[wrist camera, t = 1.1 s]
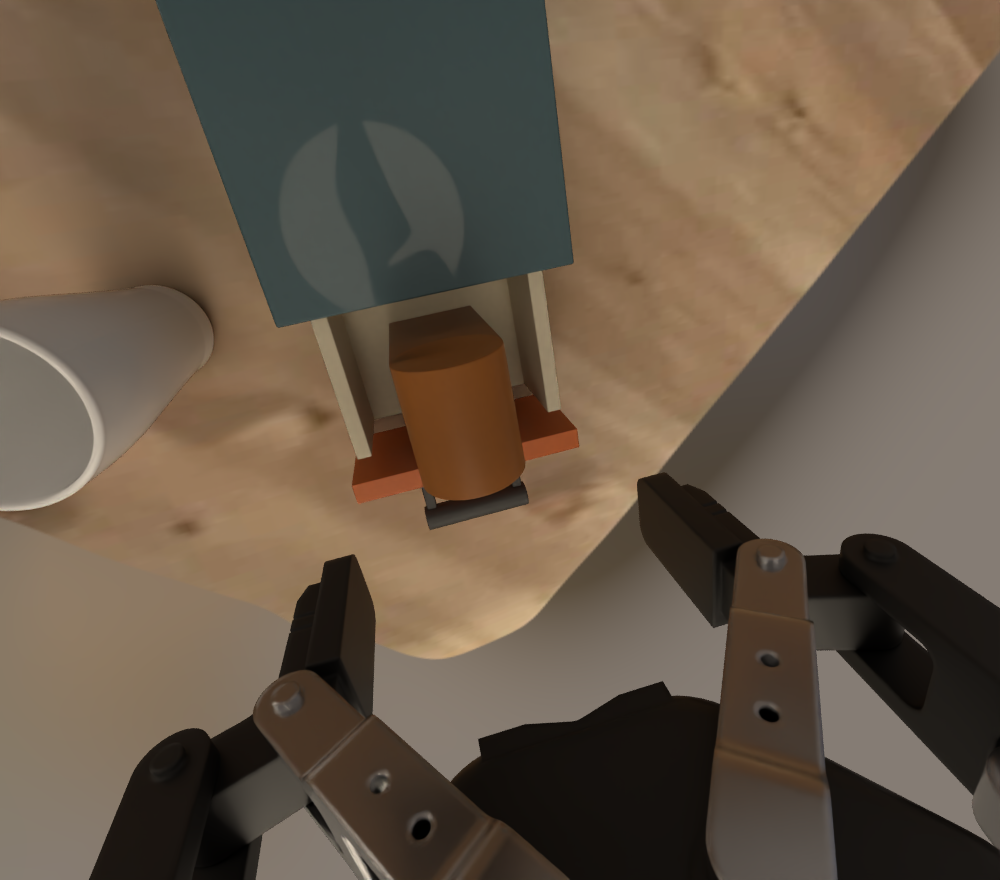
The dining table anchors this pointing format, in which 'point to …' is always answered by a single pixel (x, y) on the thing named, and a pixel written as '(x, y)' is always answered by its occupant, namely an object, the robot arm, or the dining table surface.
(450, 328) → the bread
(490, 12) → the cabinet
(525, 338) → the drawer
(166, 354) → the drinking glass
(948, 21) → the dining table surface
